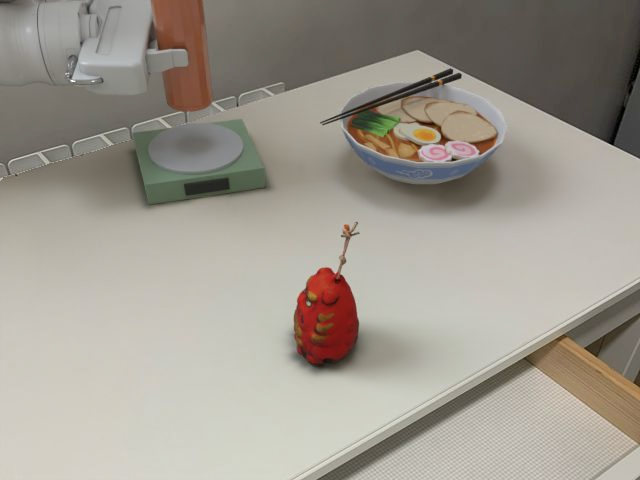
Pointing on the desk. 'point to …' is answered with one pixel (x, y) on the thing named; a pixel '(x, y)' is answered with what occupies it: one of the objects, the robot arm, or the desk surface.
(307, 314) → the red clay folk toy
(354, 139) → the ramen bowl
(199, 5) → the cup
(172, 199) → the scale
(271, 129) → the desk surface
